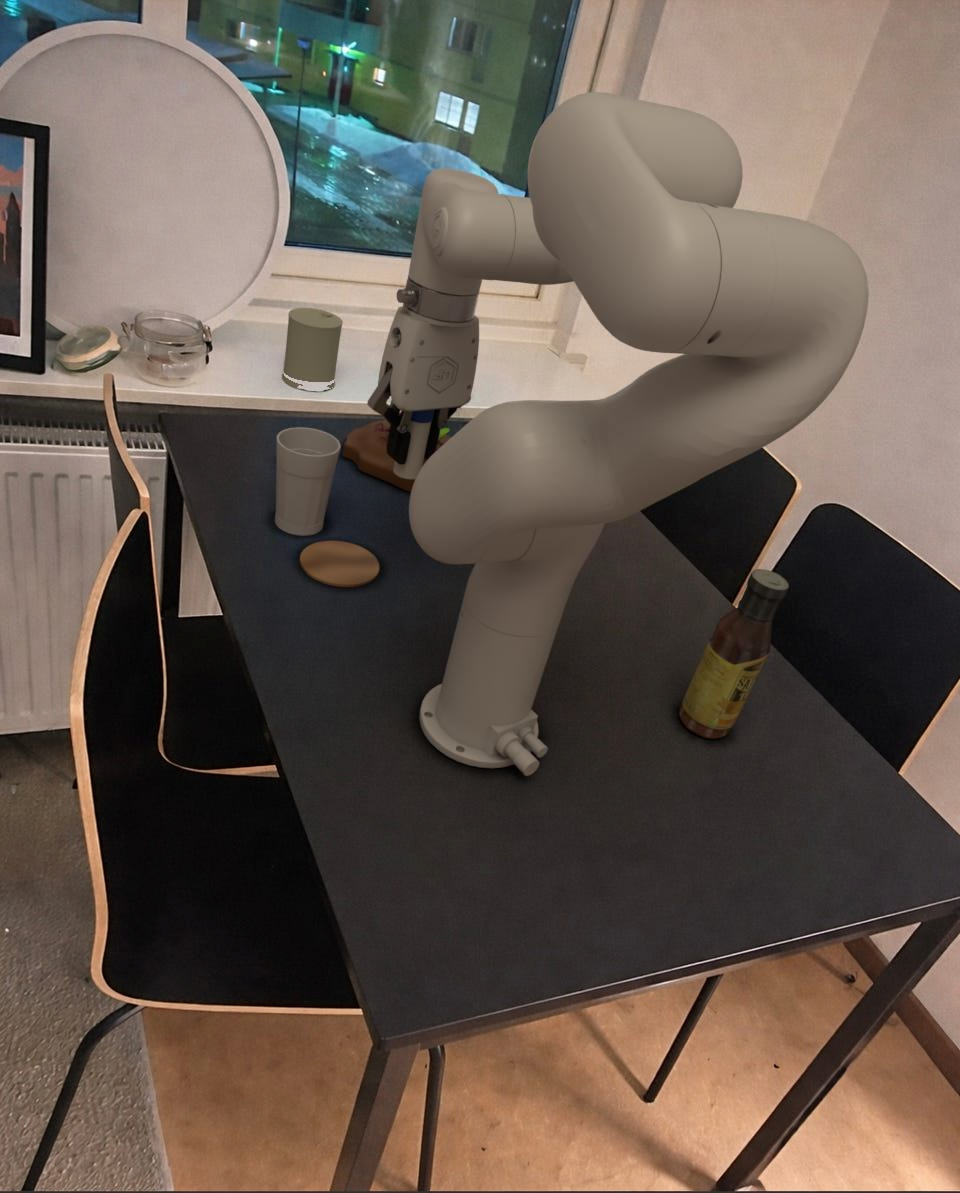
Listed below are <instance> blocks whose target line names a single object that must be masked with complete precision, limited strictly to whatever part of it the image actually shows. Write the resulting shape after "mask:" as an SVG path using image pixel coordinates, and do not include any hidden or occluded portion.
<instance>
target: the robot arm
mask: <svg viewBox="0 0 960 1193" xmlns="http://www.w3.org/2000/svg"><path fill="white" fill-rule="evenodd" d="M534 137H535V138H534V140H533V142H532V146H531V149H530V153H529V158H528V165H527V190H528V195H529V197H527V196H526V197H525V196H518V195H512V194H503V193H500V192H499V189H498V188H497V186H496V184H495V183H494V182H492V181H491V180H490V179H488V178H486V177H484V176H481V175H478V174H475V173H473V172H469V171H466V170H465V171H464V170H460V169H456V168H455V169H454V168H437V169H433V170H432V171H430V173H429V174H427V176H426V178H425V180H424V184H423V188H422V192H421V199H420V204H419V210H418V217H417V222H416V226H415V227H416V228H415V233H414V239H413V246H412V251H411V257H410V263H409V268H408V273H407V278H406V283H405V287H404V288H400V289H397V291H396V300H397V302H398V303H399V304H402V305H401V306H398V308H397V309H396V311H395V315H394V317H393V320H392V323H391V325H390V328H389V332H388V334H387V338H386V342H385V346H384V348H383V349H384V350H383V354H382V358H381V362H380V367H379V373H378V380H377V386H376V387H375V389H374V391H373V392H372V394H371V395H370V397H369V399H368V400H367V403H366V405H367V406H368V407H369V408H370V409H371V410H373V411H374V412H375V413H377V414H379V415H381V416H382V417H384V418H385V419H386V420H387V422H388V423H390V430H389V435H388V441H387V447H386V448H387V454H388V455H389V456H390V457H391V458H392V459H394V460H395V461H396V462H397V463H398V464H399V465H403V464H405V463H406V460H407V455H408V450H409V445H410V439H411V433H410V432H409V431H407V430H408V428H409V424H410V421H411V418H412V414H413V411H424V410H435V411H434V416H433V420H432V421H431V426H430V431H429V436H428V440H427V445H426V450H425V455H424V458H425V459H426V460H427V461H426V462H425V464H424V465H423V467H422V468H421V470H420V471H419V473H418V475H417V477H416V479H415V482H414V484H413V487H412V491H411V492H410V495H409V502H408V520H409V525H410V529H411V532H412V535H413V538H414V539H415V541H416V543H417V544H418V545H419V547H420V548H421V549H422V551H423V552H424V553H425V554H426V555H428V556H429V557H430V558H432V559H434V560H435V561H438V562H439V563H443V564H447V565H473V564H474V566H473V568H472V570H471V572H470V574H469V576H468V580H467V583H466V586H465V590H464V594H463V599H462V603H461V605H460V606H461V607H460V611H459V614H458V617H457V618H458V619H457V623H456V627H455V630H454V634H453V638H452V642H451V647H450V650H449V654H448V659H447V663H446V667H445V671H444V675H443V679H442V683H440V684H437V685H436V686H435V687H433V688H431V690H429V691H428V692H427V693H426V694H425V696H424V698H423V699H422V701H421V705H420V708H419V715H418V719H419V725H420V728H421V731H422V732H423V735H424V737H426V739H427V740H428V741H429V743H430V744H431V745H432V746H433V747H434V748H436V750H438V751H439V752H441V753H442V754H443V755H445V756H446V757H448V758H450V759H452V760H454V761H455V762H458V763H460V764H461V763H462V764H464V765H466V766H470V767H477V768H481V769H482V768H483V769H499V768H506V767H511V766H513V765H514V766H515V767H516V768H517V769H518V770H519V771H520V772H521V773H522V774H523V775H524V776H526V777H528V776H531V775H533V774H534V773H535V772H536V771H537V770H538V768H539V767H540V761H539V760H538V759H537V758H540V759H541V758H542V757H544V756H545V755H547V753H548V750H549V747H548V746H547V745H545V743H544V742H543V741H541V739H539V738H538V737H539V732H540V730H539V723H538V717H539V715H538V714H537V713H536V712H535V711H534V710H533V705H534V702H535V699H536V696H537V692H538V690H539V686H540V685H541V684H540V683H541V680H542V678H543V674H544V671H545V668H546V665H547V663H548V659H549V656H550V653H551V650H552V647H553V644H554V641H555V638H556V634H557V632H558V628H559V626H560V623H561V620H562V617H563V614H564V611H565V608H566V605H567V602H568V600H569V597H570V594H571V592H572V589H573V586H574V585H575V581H576V580H577V578H578V575H579V573H580V571H581V569H582V567H583V566H584V564H585V562H586V561H587V560H588V558H589V555H590V554H591V552H592V551H593V549H594V547H595V546H596V544H597V542H598V540H599V538H600V537H601V534H602V531H603V529H604V526H605V524H609V523H615V522H617V521H621V520H623V519H626V518H629V517H631V516H633V515H635V514H637V513H639V512H640V511H642V510H644V509H646V508H648V507H650V506H651V505H654V504H655V503H657V502H660V501H662V500H664V499H665V498H668V497H670V496H671V495H673V494H675V493H678V492H679V491H681V490H683V489H685V488H687V487H689V486H692V485H693V484H695V483H697V482H698V481H699V480H701V479H703V478H705V477H707V476H708V475H710V474H712V473H714V472H716V471H719V470H721V469H722V468H725V467H727V466H729V465H731V464H732V463H735V462H737V461H739V460H742V459H743V458H745V457H747V456H749V455H751V454H754V453H755V452H757V451H759V450H762V448H764V447H766V446H768V445H769V444H771V443H773V442H775V441H776V440H778V439H780V438H781V437H783V436H784V435H785V434H787V433H789V432H790V431H791V430H793V429H795V427H797V426H798V425H800V424H801V423H802V422H803V421H805V420H806V419H808V417H809V416H810V415H811V414H813V413H814V412H815V411H816V410H817V409H818V408H819V407H820V406H821V405H822V403H824V402H825V400H826V399H827V398H828V397H829V395H830V394H831V393H832V392H833V391H834V390H835V388H836V387H837V385H838V384H839V382H840V381H841V380H842V378H843V376H844V375H845V372H846V371H847V369H848V367H849V365H850V363H851V361H852V359H853V358H854V355H855V353H856V350H857V348H858V346H859V343H860V341H861V338H862V334H863V331H864V328H865V323H866V318H867V313H868V308H869V307H868V306H869V296H870V295H869V282H868V276H867V272H866V269H865V267H864V264H863V262H862V260H861V258H860V256H859V255H858V253H857V252H856V250H854V249H853V247H852V246H851V245H850V244H849V243H848V242H847V241H845V240H844V239H843V238H842V237H840V236H839V235H838V234H836V233H834V232H833V231H831V230H829V229H826V228H824V227H822V226H820V225H817V224H814V223H813V222H810V221H806V220H803V219H800V218H796V217H792V216H786V215H781V214H775V213H769V212H762V211H754V210H749V209H744V208H743V209H740V208H734V207H735V205H736V203H737V202H738V198H739V196H740V192H741V188H742V183H743V177H744V176H743V175H744V174H743V163H742V158H741V155H740V151H739V149H738V146H737V145H736V143H735V141H734V139H733V138H732V137H731V135H730V134H729V133H728V132H727V130H725V128H724V127H723V126H721V125H720V124H719V123H718V122H716V121H715V120H713V119H712V118H710V117H708V116H706V115H703V114H701V113H699V112H696V111H692V110H689V109H686V108H681V107H677V106H671V105H666V104H661V103H658V102H652V101H647V100H642V99H636V98H632V97H627V96H622V95H618V94H613V93H609V92H598V91H589V92H584V93H579V94H576V95H575V96H573V97H570V98H568V99H566V100H565V101H563V102H562V103H560V104H559V105H558V106H556V107H555V108H554V109H553V110H552V111H551V112H550V114H549V115H548V116H547V117H546V118H545V119H544V121H543V122H542V124H541V126H540V127H539V129H538V131H537V132H536V135H535V136H534ZM483 281H500V282H508V283H509V282H510V283H521V284H530V285H541V286H549V285H551V286H552V285H553V286H554V285H560V284H561V285H562V284H567V283H572V282H573V283H574V284H575V286H576V288H577V289H578V291H579V292H580V295H582V298H583V299H584V300H585V302H586V304H587V305H588V307H589V308H590V310H591V312H592V313H593V315H594V316H595V318H596V319H597V321H598V322H599V323H600V324H601V325H602V327H603V328H604V329H605V330H606V331H607V332H608V333H609V334H610V335H611V336H612V337H614V338H615V339H616V340H618V341H619V342H621V343H623V344H625V345H626V346H629V347H630V348H634V349H636V350H638V351H639V350H640V351H643V352H650V353H659V354H660V353H661V354H678V356H675V357H672V358H671V359H668V360H665V361H664V362H661V363H658V364H657V365H655V366H652V367H651V368H650V369H648V370H646V371H645V372H643V373H642V374H640V376H638V377H636V379H634V380H633V381H632V382H631V383H630V384H627V385H626V386H625V387H623V388H622V389H620V390H618V391H617V392H615V393H613V394H611V395H609V396H607V397H604V398H600V399H587V400H583V399H582V400H553V399H552V400H543V399H542V400H539V399H526V400H525V399H524V400H522V399H521V400H513V401H505V402H502V403H499V404H495V405H493V406H491V407H488V408H486V409H485V410H483V411H481V412H480V413H477V415H476V416H474V417H473V418H471V420H469V421H468V422H467V423H466V424H465V425H464V426H463V427H462V428H460V430H458V431H457V432H456V433H455V434H454V435H452V436H451V437H452V438H450V439H449V440H448V441H447V442H446V443H445V444H444V445H443V446H441V447H440V448H439V449H438V450H437V451H436V448H437V443H438V438H439V434H440V429H443V428H447V425H448V420H449V419H450V418H451V417H452V416H453V415H454V414H456V412H457V411H458V410H459V409H461V408H462V407H463V406H465V405H467V404H468V403H470V401H471V400H472V392H473V388H474V383H475V378H476V372H477V364H478V357H479V346H480V319H479V318H478V317H477V315H475V314H476V310H477V304H478V300H479V296H480V291H481V286H482V283H483ZM390 398H391V400H390V403H389V404H388V400H389V399H390ZM399 413H401V414H400V416H399ZM533 754H534V755H535V756H536V757H537V758H536V757H535V756H534V755H533Z"/></svg>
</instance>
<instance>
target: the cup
mask: <svg viewBox="0 0 960 1193" xmlns="http://www.w3.org/2000/svg"><path fill="white" fill-rule="evenodd" d="M341 446H342V445H341V443H340V441H339V439H337V437H336V436H334V435H332V434H331V433H329V432H326V431H324V430H321V429H317V428H312V427H302V426H296V427H289V428H285V429H283V430H281V431H279V432H278V434H277V435H276V466H275V467H276V468H275V470H276V472H275V474H276V475H275V476H276V480H275V515H274V523H275V525H276V527H277V528H278V529H279V530H281V531H283V532H285V533H287V534H291V535H295V536H303V537H305V536H312V535H316V534H318V533H319V532H321V531H322V530H323V528H324V523H325V522H324V521H325V515H326V512H327V508H328V502H329V498H330V494H331V490H332V485H333V481H334V477H335V472H336V468H337V464H338V459H339V455H340V451H341Z"/></svg>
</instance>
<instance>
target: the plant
mask: <svg viewBox="0 0 960 1193" xmlns="http://www.w3.org/2000/svg"><path fill="white" fill-rule="evenodd" d="M400 414H401V412H400V413H399V416H400ZM389 430H390V423H388V422H387V420H386V418H385V419H382V420H376V421H371V422H369V423H368V424H365V425H363V426H361V427H358V428H354V429H352V430H350V432H349V433H348V434H346V436H345V438H344V444H343V448H342V457H343V458H345V459H348V460H350V461H352V462H353V463H354V464H355V465H356V466H357V469H358V471H360V472H362V473H364V474H367V475H369V476H372V477H373V478H376V479H378V480H380V481H383V482H386V483H388V484H390V485H391V486H395V487H397V488H399V489H401V490H403V491H405V492H408V493H411V491H412V487H413V484H414V482H415V479H404V478H401V477H399V476H397V475H396V474H395V473H394V471H393V469H394V463H395V460H394V459H392V458H391V457H390V456H389V455H388V454H387V448H386V447H387V441H388V435H389ZM450 430H451V428H449V427H448V428H447V427H445V428H443V429H440V434H439V438H438V443H437V448H436V451H437V450H438V449H439V448H440V447H441V446H443V445H444V444H445V443H446V442H447V441H448V440H449V439H450V438H452V437H453V436H449V435H448V434H447V433H449V432H450ZM426 461H427V460H426V459H425V458H424V460H423V465H424V464H425V462H426ZM423 465H422V467H423Z"/></svg>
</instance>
